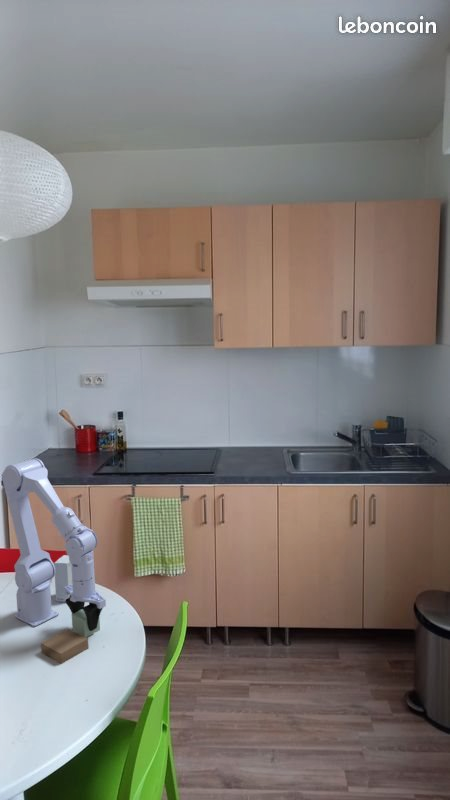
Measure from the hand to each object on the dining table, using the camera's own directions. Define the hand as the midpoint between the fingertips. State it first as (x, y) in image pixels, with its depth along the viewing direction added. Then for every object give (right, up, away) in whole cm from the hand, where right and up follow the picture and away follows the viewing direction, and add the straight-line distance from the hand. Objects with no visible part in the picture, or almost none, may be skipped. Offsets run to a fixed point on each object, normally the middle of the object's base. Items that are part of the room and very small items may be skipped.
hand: (86, 626), depth 149 cm
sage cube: (0, -1, 0) cm, 1 cm away
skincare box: (-10, +1, +19) cm, 22 cm away
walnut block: (-3, -3, -9) cm, 10 cm away
